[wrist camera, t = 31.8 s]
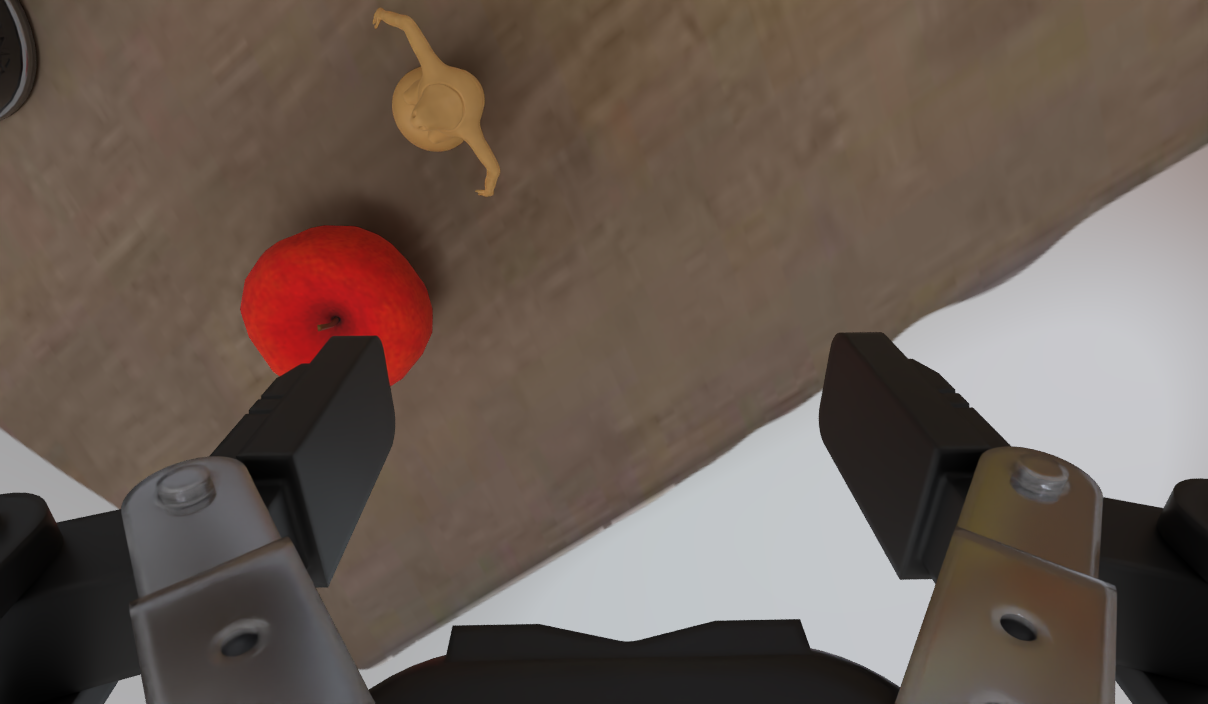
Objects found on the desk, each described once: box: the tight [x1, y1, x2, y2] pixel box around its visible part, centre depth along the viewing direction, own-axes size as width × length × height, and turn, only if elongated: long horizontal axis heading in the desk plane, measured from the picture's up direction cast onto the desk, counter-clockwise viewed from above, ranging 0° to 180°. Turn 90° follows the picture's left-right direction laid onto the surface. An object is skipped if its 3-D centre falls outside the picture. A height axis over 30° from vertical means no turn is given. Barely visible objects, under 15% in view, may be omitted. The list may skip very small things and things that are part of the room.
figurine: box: [373, 8, 500, 197], centre depth 28 cm, size 8×6×12 cm
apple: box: [240, 225, 433, 386], centre depth 35 cm, size 9×9×8 cm
